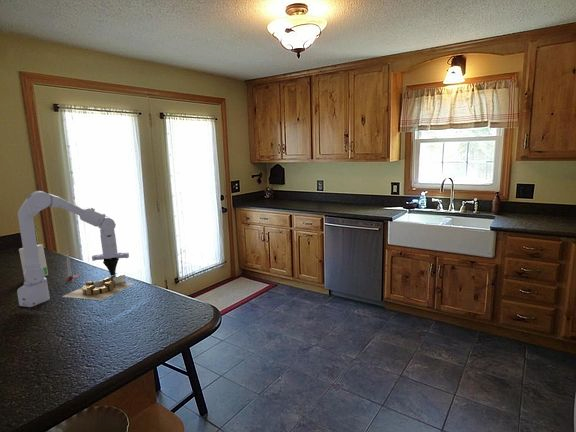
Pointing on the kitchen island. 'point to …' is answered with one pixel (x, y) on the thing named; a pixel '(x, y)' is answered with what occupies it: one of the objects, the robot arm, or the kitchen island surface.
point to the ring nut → (108, 285)
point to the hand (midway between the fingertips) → (113, 274)
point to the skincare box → (41, 258)
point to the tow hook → (69, 270)
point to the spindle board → (100, 296)
